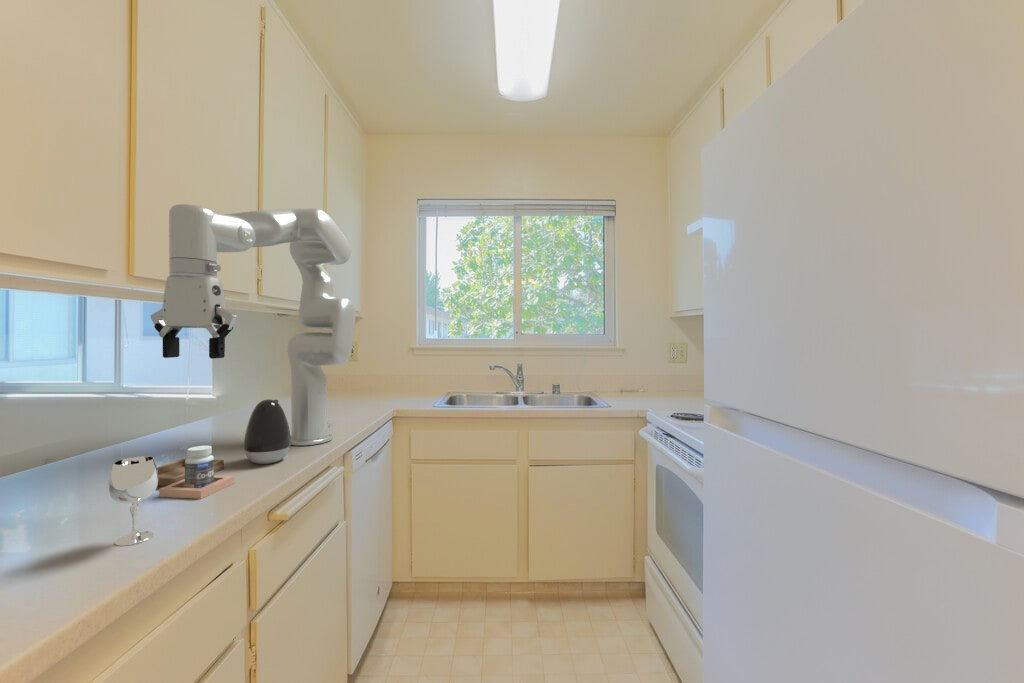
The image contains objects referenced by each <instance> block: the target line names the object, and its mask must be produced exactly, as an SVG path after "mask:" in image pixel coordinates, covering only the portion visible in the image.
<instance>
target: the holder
mask: <svg viewBox="0 0 1024 683" xmlns="http://www.w3.org/2000/svg"><path fill="white" fill-rule="evenodd" d="M233 484H235V476H234V475H214V483H212V484H209V485H207V486H205V487H202V488H185V479H183V480H181V481H178V482H176V483H173V484H171V485H168V486H166V487H163V488H158V497H159V498H174V499H175V498H178V499H197V500H198V499H199V500H201V499H204V498H205V497H208V496H210V495H213V494H214V493H216V492H218V491H219V492H220V491H221V490H223V489H225V488H228V487H229V486H231V485H233Z"/></svg>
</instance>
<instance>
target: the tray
mask: <svg viewBox="0 0 1024 683" xmlns="http://www.w3.org/2000/svg"><path fill="white" fill-rule="evenodd" d="M186 459H187V458H181V459H179V460H176V461H172V462H170V463H166V464H163V465H161V466H157V470H158V475H159V482H158V487H157V489H161V488H163V487H166V486H168V485H171V484H173V483H176V482H178V481H181V480H183V479H185V460H186ZM224 469H225V460H224V459H214V474H215V473H216V472H219V471H221V470H224Z"/></svg>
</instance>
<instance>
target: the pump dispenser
mask: <svg viewBox="0 0 1024 683" xmlns="http://www.w3.org/2000/svg"><path fill="white" fill-rule="evenodd" d="M291 446H292V445H291V429H290V426H289V423H288V420H287V417H286V413H285V411H284V409H283V408H282V406H281V404H280V403H279V400H278V399H264V400H261V401H260V402H258V403H257V404H256V405H255V407H254V409H253V411H252V412H251V414H250V416H249V420H248V422H247V426H246V430H245V434H244V440H243V451H245V455H246V457H247V458H248V460H249V461H251V462H252V463H254V464H258V465H267V464H268V465H269V464H273V463H277V462H279V461H281V460H283V459H284V458H286V456H287V454H288V452H289V450H290V447H291Z"/></svg>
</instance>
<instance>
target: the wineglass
mask: <svg viewBox="0 0 1024 683" xmlns="http://www.w3.org/2000/svg"><path fill="white" fill-rule="evenodd" d="M157 467H158V466H157V463H156V460H155V457H153V456H150V455H149V456H145V455H144V456H143V455H141V456H134V457H133V456H132V457H126V458H123V459H120V460H116V461H114V462H113V464H112V467H111V471H110V475H109V480H108V492H109V496H110V497H111V499H112V500H113V501H115V502H118V503H121V504H131V506H130V508H129V512H130V514H131V518H132V529H131V532H130V533H129V534H126V535H123V536H121V537H119V538H118V539H116V540H115V541H114V545H115V546H121V547H124V546H125V547H126V546H132V545H136V544H139V543H143V542H145V541H146V542H147V540H149V539H151V538H153V537H154V532H152V531H148V530H146V531H145V530H144V531H139V529H138V526H137V523H138V522H137V520H138V513H139V509H140V507H139V504H138V503H139V502H141V501H145V500H146V499H148V498H149V497H151V496H152V495H153V494H154V493H155V492H156V490H157V489H158V488H157V487H158V482H159V475H158V470H157Z"/></svg>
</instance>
